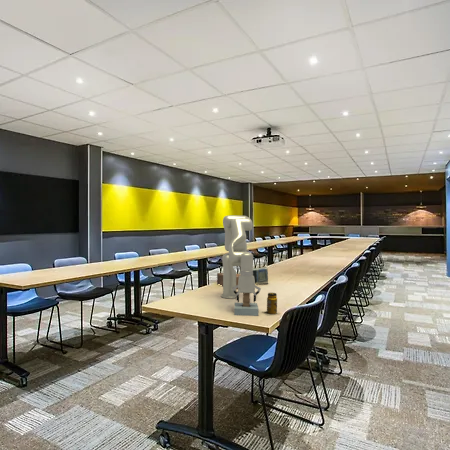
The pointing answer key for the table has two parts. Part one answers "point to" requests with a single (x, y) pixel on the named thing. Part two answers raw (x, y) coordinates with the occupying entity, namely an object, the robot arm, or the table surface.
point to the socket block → (246, 309)
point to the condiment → (271, 304)
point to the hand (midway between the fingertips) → (246, 301)
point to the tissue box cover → (220, 278)
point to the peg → (246, 299)
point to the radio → (260, 275)
